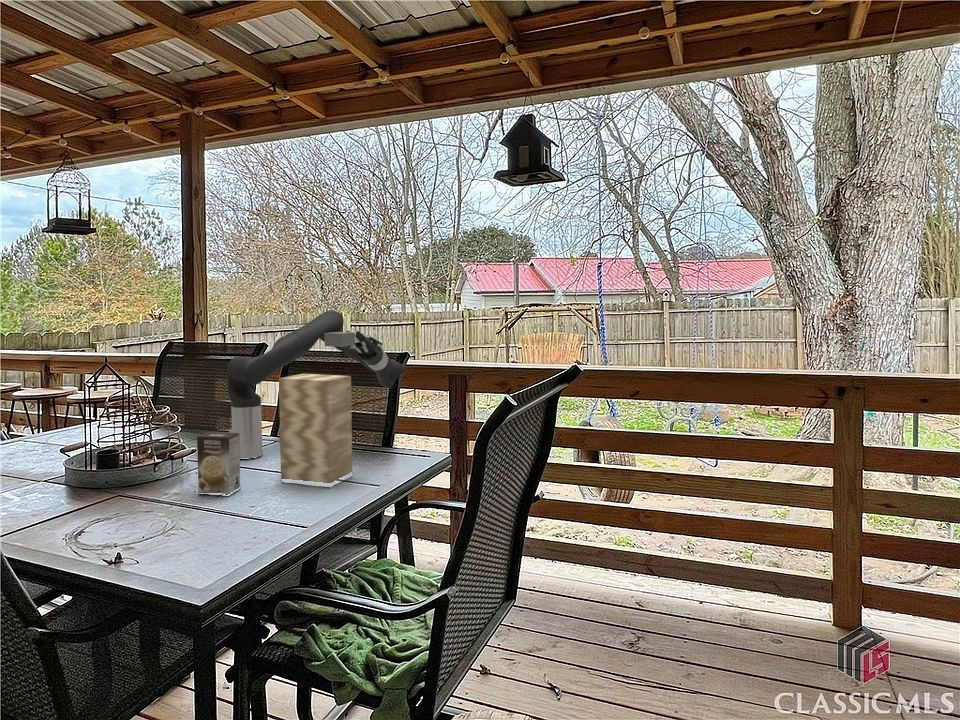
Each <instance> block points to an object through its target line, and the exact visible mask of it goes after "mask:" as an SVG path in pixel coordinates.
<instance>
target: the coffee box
mask: <svg viewBox="0 0 960 720" xmlns="http://www.w3.org/2000/svg"><path fill="white" fill-rule="evenodd" d="M196 438H197V439H196V441H197V442H196V443H197V445H196V446H197V447H196V448H197V449H196V450H197V451H196V452H197V479H198V483H197V484H198V493H225V494H230V493H231V492H233V491H234V490H236V489H238V488H239V487H240V488H241V460H240V440H239V433H230V432H229V431H228V432H227V431H226V432H225V431H206V432H204V433H201V434H200V435H197V437H196Z"/></svg>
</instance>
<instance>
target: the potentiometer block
mask: <svg viewBox="0 0 960 720" xmlns="http://www.w3.org/2000/svg"><path fill="white" fill-rule="evenodd" d="M359 332H360V333H362V334H363V335H364V336H366V337H367V332H365V331H364V332H363V331H359ZM355 335H356V331H355V332H351V331H350V332H346V331H344V332H343V331H341V332H332V333H324V341H323V342H324V343H323V344H324V347H333V348H335V347H344V346H352V345H355V343H357V342H360V341H359V340H358V339H357V338H356V337H355Z"/></svg>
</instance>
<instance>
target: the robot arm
mask: <svg viewBox="0 0 960 720" xmlns="http://www.w3.org/2000/svg"><path fill="white" fill-rule="evenodd" d="M344 321H345V319H344V316H343V315H342V313H340V312H338V311H336V310H327V311H324V312H322V313H320V314H319V315H318V316H316V317H315V318H313V319H312V320H311V321H309V322H308V323H305V324H304V325H302V326H301V327H299V328H297V329H295V330H293V331H290V332H289V333H286V334H285V335H283V336H281V337H280V338H278V339H277V340H276V341H275V342H274V344H273V346H272V348H270V350H268V351H267V352H264V353H262V354H260V355H258V356H253V357H252V356H234V357H233V358H232V359H230V361H229V362H228V363H227V368H226V385H227V395H228V398H229V400H230V404H231V405H230V406H231V407H230V408H231V409H230V410H231V428H229V431H228V432H230V433H239V440H240V459H241V458H253V457H257V456H260V455H262V456H263V424H262V421H263V420H262V398H261V396H260V395H259V394H257V393H256V391H254V390H253V386H257V385H259V384H261V383H262V382H264V381H265V380H266V379H267V378H270V376H272V375H273V374H274V373H275V372H277V371H278V370H280V369H282V368H283V367H285V366H287V365H289V364H290V363H292V362H294V361H296V360H298V359H299V358H301V357H302V356H304V355H306V354H307V353H308V352H310V350H311V349H312V348H313V347H314V345H315V344H317V342H318V341H319V339H320V340H321V341H322V342H324V333H332V332H343V331H342V330H343V328H344V324H345V322H344ZM345 332H351V331H350V330H346V331H345ZM355 332H356V335H355V337H356V338H357V339H358V340H359V341H360V342H357V343H355V345H352V346H344V347H334V348H335V349H336V350H338V351H340V352H342V353H344V354H346V355H348V356H350V357H351V358H352V359H354V360H356V361H357V362H359V363H360V364H361V365H363V366H364V367H365V368H366V369H368V370H369V371H371V372H374V373H375V375H376V377H377V380H378V382H379V384H380V385H381V386H382V387H383V388H385V389H387V388H391V387H392V386H393V385H394V383H395V381H396V380H397V378H398V377H399V376H400V375H401V374H402V378H403V377H404V376H405V374H406V368H405V366H404V364H402V363H400V362H399V361H397V360H394V359H392V358H390V357H389V356H388V355H387V354H386V352H385V350H383V343H382V342H381V341H379V340H377V339H376V338H374V337H372V336H368V337H367V335H366V336H364V335H363V334H362V333H360V332H361V331H360V330H356V331H355ZM400 377H401V376H400ZM391 389H392V388H391Z"/></svg>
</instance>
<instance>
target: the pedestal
mask: <svg viewBox="0 0 960 720" xmlns="http://www.w3.org/2000/svg"><path fill="white" fill-rule="evenodd" d="M278 397H279V398H278V400H279V402H278V405H279V445H280V446H279V447H280V480H281V479H292V480H303V481H314V482H323V483H332V482H334V481H335V480H337V479H339V478H341V477H343V476H345V475H347V474H349V473H350V472H352V473H353V443H352V442H353V439H352V438H353V436H352V435H353V433H352V432H353V431H352V430H353V429H352V423H353V422H352V376H351V375H338V374H337V375H336V374H335V375H334V374H320V373H319V374H316V373H300V374H295V375H289V376H284V377H279V378H278Z"/></svg>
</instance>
